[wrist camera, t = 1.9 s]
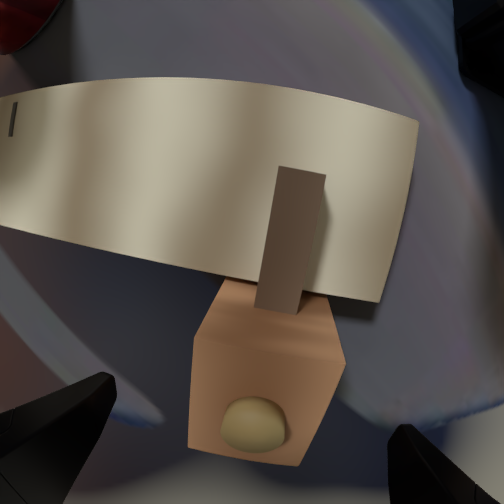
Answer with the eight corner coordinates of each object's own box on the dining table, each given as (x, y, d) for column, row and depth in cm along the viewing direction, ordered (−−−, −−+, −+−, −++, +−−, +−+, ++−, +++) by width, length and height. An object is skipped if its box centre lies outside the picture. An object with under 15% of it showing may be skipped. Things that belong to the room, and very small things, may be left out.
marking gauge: (345, 179, 12) (410, 194, 5) (297, 371, 14) (298, 483, 8) (248, 161, 12) (206, 152, 5) (219, 357, 15) (182, 463, 8)
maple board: (399, 127, 11) (420, 121, 9) (366, 283, 13) (379, 303, 11) (-11, 107, 12) (-33, 106, 10) (-18, 209, 14) (-40, 214, 12)
